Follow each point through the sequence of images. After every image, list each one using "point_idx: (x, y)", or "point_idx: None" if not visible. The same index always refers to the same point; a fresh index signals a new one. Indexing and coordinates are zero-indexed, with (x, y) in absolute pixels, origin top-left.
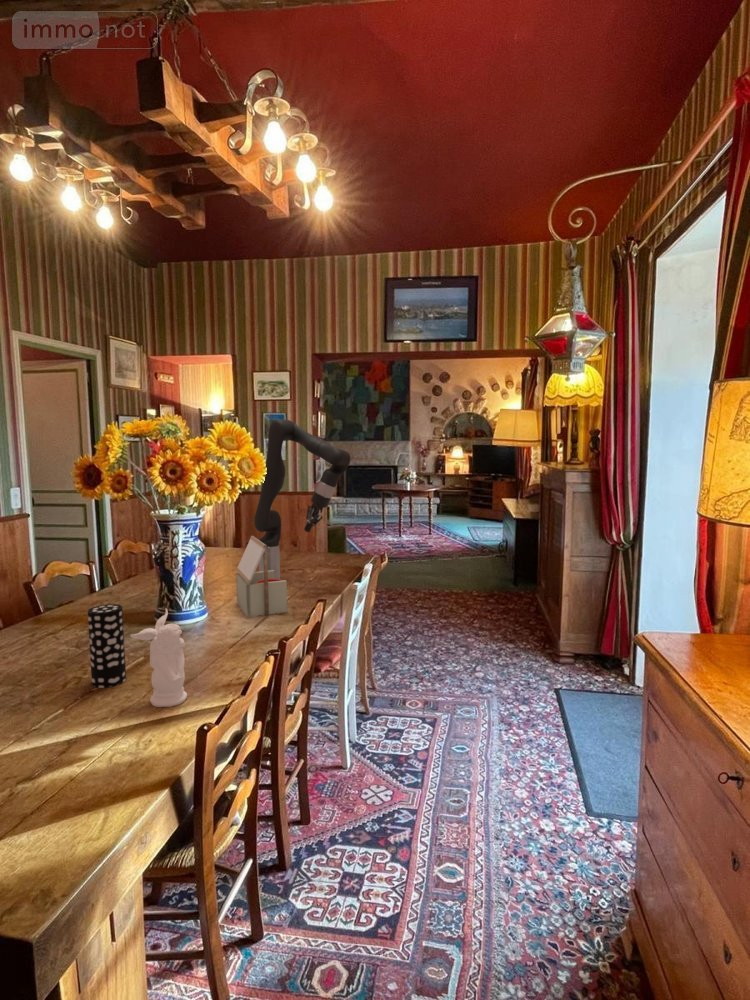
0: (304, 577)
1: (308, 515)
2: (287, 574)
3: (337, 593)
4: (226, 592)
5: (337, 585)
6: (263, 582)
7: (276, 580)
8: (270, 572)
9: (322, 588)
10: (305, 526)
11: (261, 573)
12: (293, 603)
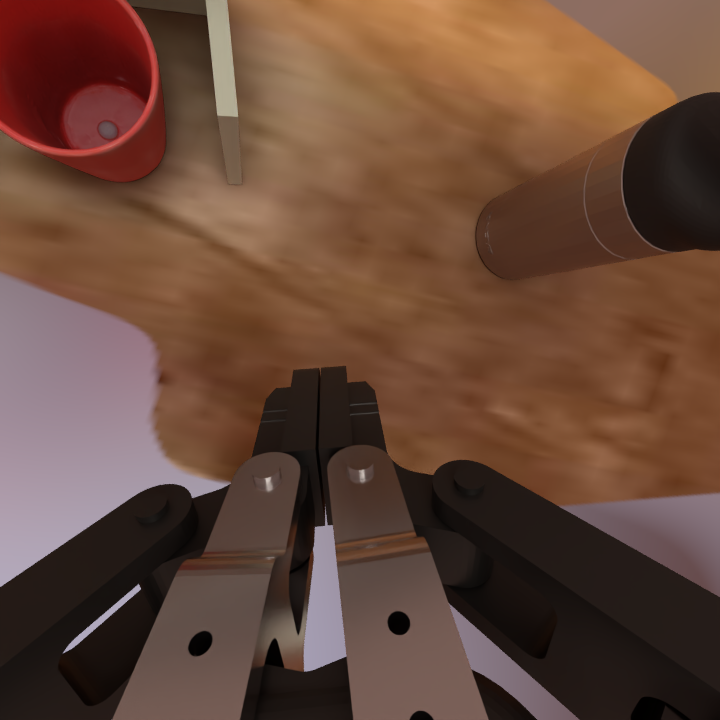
0: (535, 389)
1: (387, 546)
2: (601, 334)
3: None
4: (427, 18)
5: None
6: (143, 46)
7: (135, 125)
8: (215, 92)
9: None
10: (340, 392)
11: (208, 27)
12: (130, 247)
